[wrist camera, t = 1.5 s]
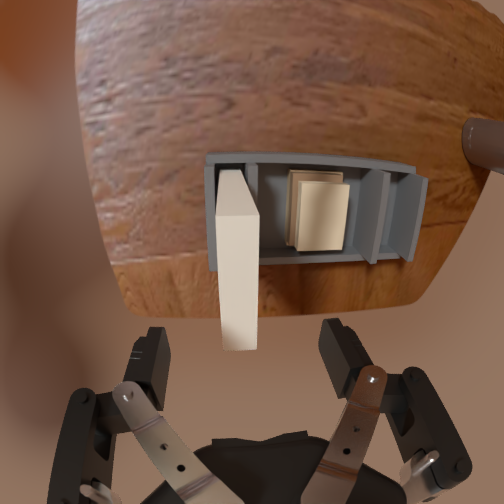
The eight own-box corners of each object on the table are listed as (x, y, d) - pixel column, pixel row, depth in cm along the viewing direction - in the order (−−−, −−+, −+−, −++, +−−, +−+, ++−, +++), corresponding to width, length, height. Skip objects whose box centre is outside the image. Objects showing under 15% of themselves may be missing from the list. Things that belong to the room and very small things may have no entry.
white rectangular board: (239, 167, 33) (259, 215, 15) (240, 242, 37) (256, 349, 19) (220, 168, 33) (215, 216, 15) (222, 242, 37) (223, 350, 19)
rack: (400, 162, 35) (429, 171, 29) (387, 247, 41) (410, 267, 35) (207, 152, 33) (203, 157, 26) (211, 253, 39) (209, 278, 32)
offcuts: (338, 170, 34) (352, 176, 30) (331, 239, 38) (343, 253, 34) (287, 168, 34) (296, 173, 30) (284, 241, 38) (291, 255, 34)
